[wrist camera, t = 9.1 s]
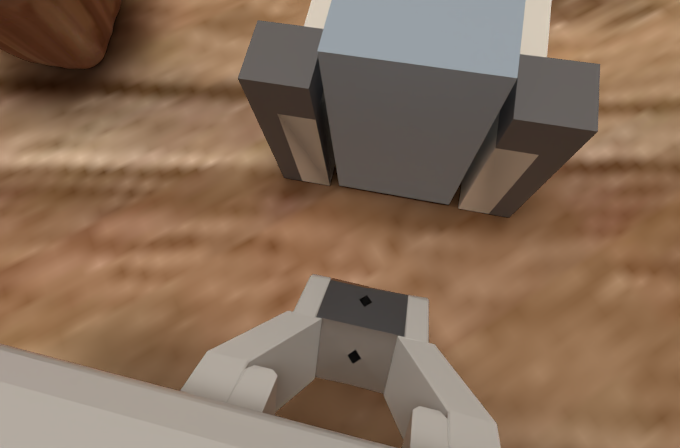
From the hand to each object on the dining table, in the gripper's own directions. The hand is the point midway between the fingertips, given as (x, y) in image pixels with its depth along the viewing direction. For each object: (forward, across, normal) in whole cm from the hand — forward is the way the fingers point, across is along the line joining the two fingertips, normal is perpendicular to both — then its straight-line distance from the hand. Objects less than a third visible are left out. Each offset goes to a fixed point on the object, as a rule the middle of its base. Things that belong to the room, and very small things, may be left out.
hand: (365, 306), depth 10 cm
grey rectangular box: (+11, 0, -4) cm, 12 cm away
